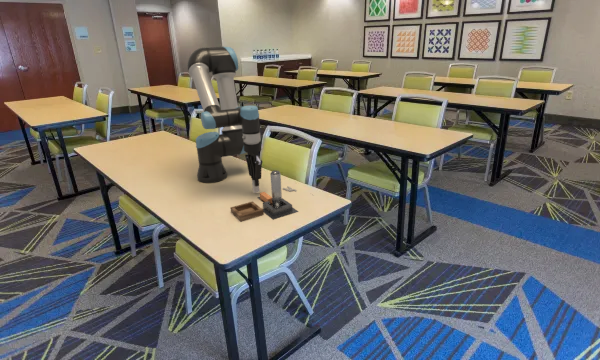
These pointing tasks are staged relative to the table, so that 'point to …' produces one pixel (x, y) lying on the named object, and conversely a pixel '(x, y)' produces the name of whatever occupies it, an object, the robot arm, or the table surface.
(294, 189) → the pliers
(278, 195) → the grey cylindrical peg
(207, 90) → the robot arm
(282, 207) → the socket
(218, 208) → the table surface
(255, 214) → the tray
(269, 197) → the orange rectangular bar
